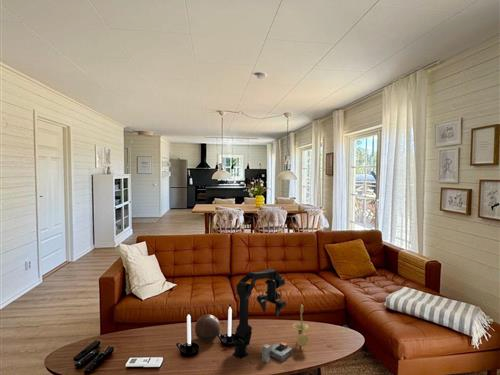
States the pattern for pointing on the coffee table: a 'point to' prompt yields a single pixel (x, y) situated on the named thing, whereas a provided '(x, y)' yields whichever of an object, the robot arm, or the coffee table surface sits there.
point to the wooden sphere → (207, 328)
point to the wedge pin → (266, 353)
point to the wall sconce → (301, 330)
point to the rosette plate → (283, 349)
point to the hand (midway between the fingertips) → (270, 314)
